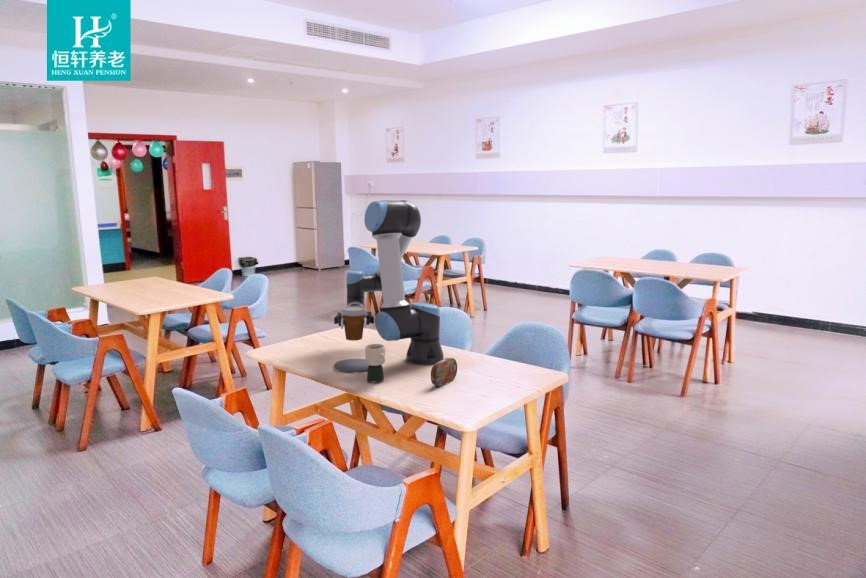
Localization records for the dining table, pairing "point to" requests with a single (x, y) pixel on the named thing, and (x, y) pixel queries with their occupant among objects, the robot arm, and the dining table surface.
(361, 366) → the mat
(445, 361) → the tin
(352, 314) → the disposable coffee cup
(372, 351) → the character mug
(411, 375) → the dining table surface
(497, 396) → the dining table surface
